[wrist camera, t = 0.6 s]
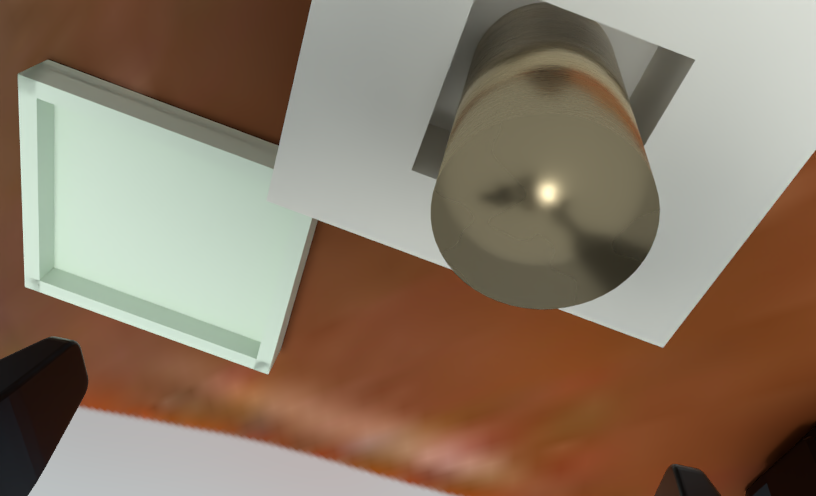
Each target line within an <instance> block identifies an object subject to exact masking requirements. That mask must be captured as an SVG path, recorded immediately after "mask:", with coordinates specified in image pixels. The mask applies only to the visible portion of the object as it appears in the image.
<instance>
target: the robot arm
mask: <svg viewBox="0 0 816 496" xmlns="http://www.w3.org/2000/svg"><path fill="white" fill-rule="evenodd" d="M87 387H88V375H87V371H86V367H85V363H84V359H83V354H82V350H81V347H80V345H79V344H78V343H77V342H76V341H74V340H69V339H65V338H60V337H48V338H46V339H43V340H41V341H39V342H37V343H35V344H33V345H30V346H28V347H26V348H24V349H22V350H20V351H17V352H15V353H13V354H11V355H9V356H7V357H5V358H2V359H0V496H28V494H29V493H30V491H31V490H32V488H33V487H34V485H35V484H36V482H37V481H38V479H39V477H40V475H41V474H42V472H43V470H44V469H45V467H46V465H47V463H48V461H49V460H50V458H51V456H52V454H53V452H54V450H55V449H56V446H57V445H58V443H59V441H60V439H61V437H62V436H63V434H64V432H65V430H66V428H67V427H68V425H69V423H70V421H71V419H72V417H73V416H74V414H75V412H76V410H77V408H78V406H79V405H80V403H81V401H82V399H83V397H84V395H85V393H86V390H87ZM654 496H721V495H720V493H719V492H718V491H717V489H716V488H715V487H714V485H713V484H712V483H711V481H710V480H709V479H708V477H707V476H706V475H705V473H703V472H702V471H701V470H699V469H697V468H692V467H688V466H683V465H678V464H672V465H670V466H669V467H668V469H667V470H666V472H665V474H664V476H663V479H662V481H661V483H660V485H659V487H658V489H657V491H656V493H655V495H654ZM746 496H816V426H815V427H814V428H813V429H812V430H811V431H810V432H809V433H808V434H807V435H805V436H804V437H803V438H802V439H801V440H800V441H799V442H798V443H797V444H796V445H795V446H794V447H793V448H792V449H790V450H789V451H788V452H787V453H786V454H785V455H784V456H783V457H782V458H781V459H780V460H779V461H778V462H777V463H775V464H774V465H773V466H772V467H771V468H770V469H769V470H768V471H767V472H766V473H765V474H764V475H763V476H762V477H760V478H759V479H758V480H757V481H756V482H755V483H754V484H753V485H752V486H751V487H750V488H749V489H748V490H747V491H746Z"/></svg>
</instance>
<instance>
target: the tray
mask: <svg viewBox="0 0 816 496" xmlns="http://www.w3.org/2000/svg"><path fill="white" fill-rule="evenodd" d="M18 97H19V126H20V155H21V185H22V214H23V244H24V273H25V287H27V288H30V289H33V290H35V291H38V292H41V293H44V294H46V295H49V296H52V297H55V298H58V299H60V300H63V301H66V302H69V303H71V304H74V305H77V306H80V307H83V308H85V309H88V310H91V311H94V312H96V313H99V314H102V315H105V316H107V317H110V318H113V319H116V320H119V321H121V322H124V323H127V324H130V325H132V326H135V327H138V328H141V329H144V330H146V331H149V332H152V333H155V334H157V335H160V336H163V337H166V338H168V339H171V340H174V341H177V342H180V343H182V344H185V345H188V346H191V347H193V348H196V349H199V350H202V351H204V352H207V353H210V354H213V355H216V356H218V357H221V358H224V359H227V360H229V361H232V362H235V363H238V364H241V365H243V366H246V367H249V368H252V369H254V370H257V371H260V372H263V373H265V374H269V372H270V370H271V368H272V366H273V364H274V362H275V360H276V358H277V356H278V354H279V352H280V350H281V347H282V343H283V340H284V336H285V333H286V329H287V326H288V322H289V319H290V315H291V312H292V309H293V305H294V302H295V298H296V295H297V291H298V288H299V284H300V281H301V277H302V274H303V270H304V267H305V263H306V260H307V256H308V253H309V249H310V246H311V242H312V239H313V236H314V232H315V229H316V225H317V222H318V220H317V219H314V218H311V217H309V216H306V215H303V214H301V213H298V212H295V211H292V210H290V209H287V208H284V207H282V206H279V205H276V204H274V203H271V202H268V201H266V200H267V196H268V192H269V187H270V183H271V178H272V174H273V169H274V165H275V161H276V156H277V152H278V147H279V146H278V145H275V144H273V143H270V142H267V141H265V140H262V139H259V138H257V137H254V136H251V135H249V134H246V133H243V132H241V131H238V130H235V129H233V128H230V127H227V126H225V125H222V124H219V123H217V122H214V121H211V120H209V119H206V118H203V117H201V116H198V115H195V114H193V113H190V112H187V111H184V110H182V109H179V108H176V107H174V106H171V105H168V104H166V103H163V102H160V101H158V100H155V99H152V98H150V97H147V96H144V95H142V94H139V93H136V92H134V91H131V90H128V89H126V88H123V87H120V86H118V85H115V84H112V83H110V82H107V81H104V80H102V79H99V78H96V77H94V76H91V75H88V74H86V73H83V72H80V71H77V70H75V69H72V68H69V67H67V66H64V65H61V64H59V63H56V62H53V61H51V60H46V61H44V62H42V63H39V64H37V65H35V66H33V67H31V68H29V69H27V70H25V71H23V72H21V73H19V74H18Z"/></svg>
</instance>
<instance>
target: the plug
mask: <svg viewBox="0 0 816 496" xmlns="http://www.w3.org/2000/svg"><path fill="white" fill-rule="evenodd" d="M659 217H660V204H659V195H658V191H657V187H656V184H655V180H654V177H653V174H652V171H651V168H650V164H649V161H648V158H647V155H646V152H645V149H644V145H643V142H642V139H641V136H640V133H639V130H638V126H637V123H636V120H635V117H634V114H633V111H632V107H631V104H630V101H629V98H628V95H627V92H626V88H625V85H624V82H623V79H622V76H621V72H620V69H619V66H618V63H617V60H616V57H615V53H614V50H613V47H612V45H611V42H610V40H609V38H608V36H607V35H606V33H605V31H604V30H603V29H602V28H601V26H600V25H599V24H598V23H597V22H596V21H594V20H591V19H589V18H586V17H584V16H581V15H578V14H576V13H573V12H571V11H568V10H565V9H563V8H560V7H558V6H555V5H553V4H550V3H547V2H541V3H533V4H529V5H525V6H522V7H519V8H517V9H514V10H512V11H510V12H509V13H507V14H505V15H504V16H502V17H501V18H499V19H498V20H497V21H496V22H495V23H494V24H493V25H492V26H490V28H489V29H488V30H487V31H486V32H485V34H484V35H483V37H482V38H481V40H480V41H479V43H478V45H477V47H476V49H475V52H474V55H473V58H472V61H471V65H470V68H469V72H468V75H467V78H466V82H465V85H464V89H463V92H462V95H461V99H460V102H459V106H458V109H457V112H456V116H455V119H454V123H453V126H452V130H451V133H450V136H449V140H448V143H447V147H446V150H445V153H444V157H443V160H442V164H441V167H440V170H439V174H438V177H437V181H436V184H435V187H434V191H433V195H432V201H431V225H432V231H433V235H434V238H435V242H436V244H437V246H438V248H439V251H440V253H441V255H442V256H443V258H444V259H445V261H446V262H447V264H448V265H449V266H450V268H451V269H452V270H453V271H454V272H455V274H456V275H458V276H459V277H460V278H461V279H462V280H463V281H464V282H465V283H466V284H468V285H469V286H471V287H472V288H473V289H475V290H476V291H478V292H480V293H482V294H483V295H485V296H487V297H489V298H492V299H494V300H496V301H499V302H502V303H505V304H508V305H512V306H517V307H522V308H530V309H558V308H566V307H571V306H575V305H580V304H583V303H586V302H589V301H592V300H594V299H596V298H598V297H601V296H603V295H605V294H607V293H608V292H610V291H612V290H613V289H615V288H616V287H618V286H619V285H620V284H622V283H623V282H624V281H626V280H627V279H628V278H629V277H630V276H631V275H632V274H633V273H634V272H635V271H636V270H637V269H638V267H639V266H640V265H641V264H642V262H643V261H644V260H645V258H646V256H647V255H648V253H649V251H650V249H651V247H652V245H653V242H654V240H655V237H656V234H657V230H658V225H659Z"/></svg>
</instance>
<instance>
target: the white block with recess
mask: <svg viewBox="0 0 816 496" xmlns="http://www.w3.org/2000/svg"><path fill="white" fill-rule="evenodd" d="M541 2H547V3H550V4H553V5H555V6H558V7H560V8H563V9H565V10H568V11H571V12H573V13H576V14H578V15H581V16H584V17H586V18H589V19H591V20H594V21H596V22H597V23H598V24H599V25H600V26H601V28H602V29H603V30H604V31H605V33H606V35H607V36H608V38H609V40H610V42H611V45H612V47H613V50H614V53H615V57H616V60H617V63H618V66H619V69H620V72H621V76H622V79H623V82H624V85H625V88H626V92H627V95H628V98H629V101H630V104H631V107H632V111H633V114H634V117H635V120H636V123H637V126H638V130H639V133H640V136H641V139H642V142H643V145H644V149H645V152H646V155H647V158H648V161H649V164H650V168H651V171H652V174H653V177H654V180H655V184H656V187H657V191H658V195H659V204H660V217H659V225H658V230H657V234H656V237H655V240H654V242H653V245H652V247H651V249H650V251H649V253H648V255H647V256H646V258H645V260H644V261H643V262H642V264H641V265H640V266H639V267H638V269H637V270H636V271H635V272H634V273H633V274H632V275H631V276H630V277H629V278H628V279H627V280H626V281H624V282H623V283H622V284H620V285H619V286H618V287H616V288H615V289H613V290H612V291H610V292H608V293H607V294H605V295H603V296H601V297H598V298H596V299H594V300H592V301H589V302H586V303H583V304H580V305H575V306H571V307H566V308H558V309H560V310H562V311H565V312H568V313H571V314H573V315H576V316H579V317H581V318H584V319H587V320H589V321H592V322H595V323H598V324H600V325H603V326H606V327H608V328H611V329H614V330H616V331H619V332H622V333H624V334H627V335H630V336H633V337H635V338H638V339H641V340H643V341H646V342H649V343H651V344H654V345H657V346H660V347H662V348H663V347H664V346H665V345H666V343H667V342H668V341H669V339H670V338H671V337H672V335H673V334H674V333H675V332H676V330H677V329H678V328H679V326H680V325H681V324H682V323H683V321H684V320H685V319H686V317H687V316H688V315H689V313H690V312H691V311H692V310H693V308H694V307H695V306H696V304H697V303H698V302H699V300H700V299H701V298H702V297H703V295H704V294H705V293H706V291H707V290H708V289H709V288H710V286H711V285H712V284H713V282H714V281H715V280H716V278H717V277H718V276H719V275H720V273H721V272H722V271H723V269H724V268H725V267H726V265H727V264H728V263H729V262H730V260H731V259H732V258H733V256H734V255H735V254H736V252H737V251H738V250H739V249H740V247H741V246H742V245H743V243H744V242H745V241H746V240H747V238H748V237H749V236H750V234H751V233H752V232H753V230H754V229H755V228H756V227H757V225H758V224H759V223H760V221H761V220H762V219H763V217H764V216H765V215H766V214H767V212H768V211H769V210H770V208H771V207H772V206H773V204H774V203H775V202H776V201H777V199H778V198H779V197H780V195H781V194H782V193H783V192H784V190H785V189H786V188H787V186H788V185H789V184H790V182H791V181H792V180H793V179H794V177H795V176H796V175H797V173H798V172H799V171H800V169H801V168H802V167H803V166H804V164H805V163H806V162H807V160H808V159H809V158H810V157H811V155H812V154H813V153H814V151H815V150H816V0H312V2H311V6H310V11H309V15H308V20H307V24H306V28H305V33H304V37H303V42H302V46H301V50H300V55H299V59H298V64H297V68H296V72H295V77H294V81H293V86H292V90H291V95H290V99H289V103H288V108H287V112H286V117H285V121H284V125H283V130H282V134H281V139H280V143H279V147H278V152H277V156H276V161H275V165H274V169H273V174H272V178H271V183H270V187H269V192H268V196H267V200H266V201H268V202H271V203H274V204H276V205H279V206H282V207H284V208H287V209H290V210H292V211H295V212H298V213H301V214H303V215H306V216H309V217H311V218H314V219H317V220H319V221H322V222H325V223H328V224H330V225H333V226H336V227H338V228H341V229H344V230H346V231H349V232H352V233H355V234H357V235H360V236H363V237H365V238H368V239H371V240H373V241H376V242H379V243H382V244H384V245H387V246H390V247H392V248H395V249H398V250H400V251H403V252H406V253H409V254H411V255H414V256H417V257H419V258H422V259H425V260H427V261H430V262H433V263H436V264H438V265H441V266H444V267H446V268H449V269H451V268H450V266H449V265H448V264H447V262H446V261H445V259H444V258H443V256H442V255H441V253H440V251H439V248H438V246H437V244H436V242H435V238H434V235H433V231H432V225H431V201H432V195H433V191H434V187H435V184H436V181H437V177H438V174H439V170H440V167H441V164H442V160H443V157H444V153H445V150H446V147H447V143H448V140H449V136H450V133H451V130H452V126H453V123H454V119H455V116H456V112H457V109H458V106H459V102H460V99H461V95H462V92H463V89H464V85H465V82H466V78H467V75H468V72H469V68H470V65H471V61H472V58H473V55H474V52H475V49H476V47H477V45H478V43H479V41H480V40H481V38H482V37H483V35H484V34H485V32H486V31H487V30H488V29H489V28H490V26H492V25H493V24H494V23H495V22H496V21H497V20H498V19H499V18H501V17H502V16H504V15H505V14H507V13H509V12H510V11H512V10H514V9H517V8H519V7H522V6H525V5H529V4H533V3H541Z"/></svg>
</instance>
